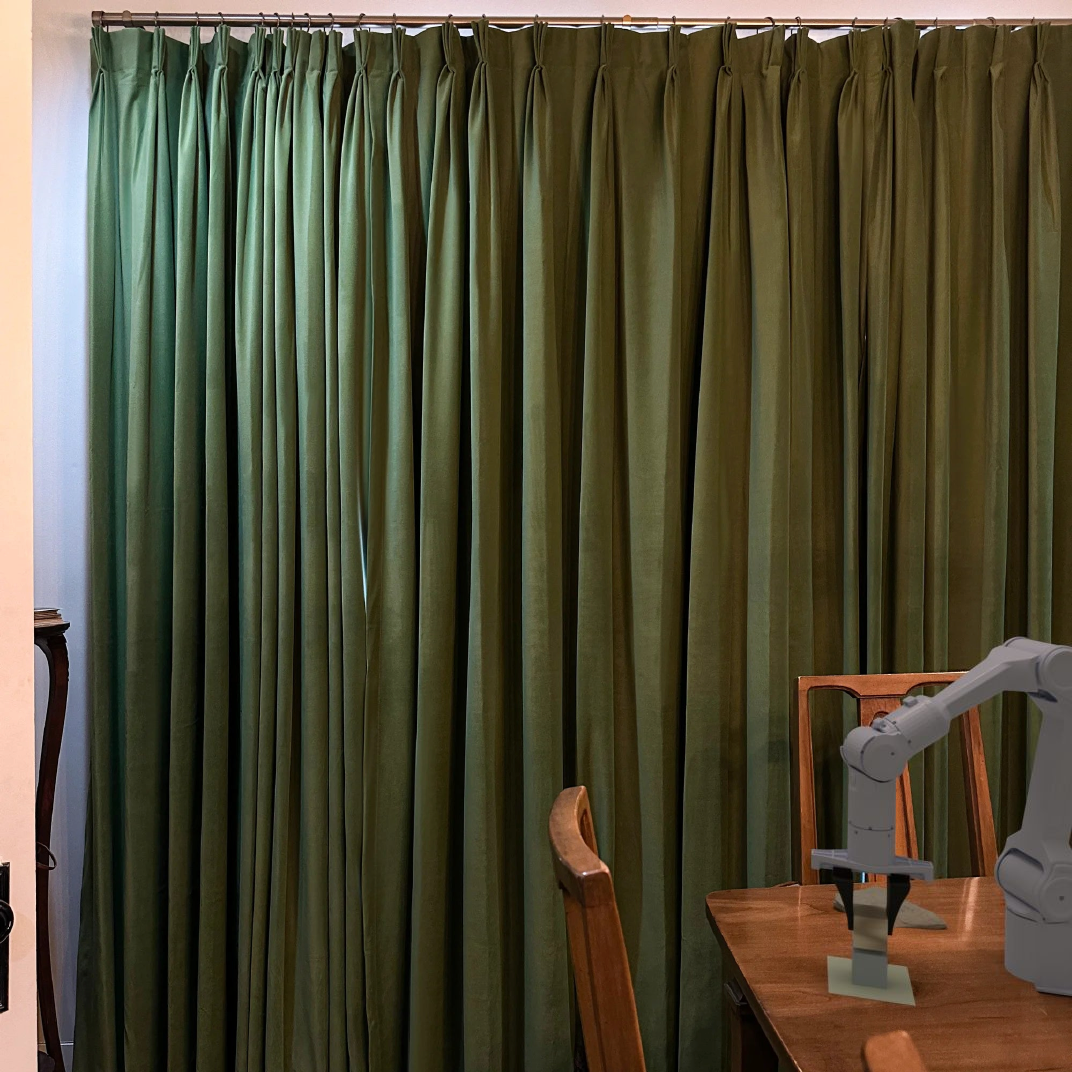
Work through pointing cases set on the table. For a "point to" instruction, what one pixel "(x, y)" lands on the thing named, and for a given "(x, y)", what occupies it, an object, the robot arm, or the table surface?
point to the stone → (907, 913)
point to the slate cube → (869, 967)
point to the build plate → (843, 985)
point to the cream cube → (870, 927)
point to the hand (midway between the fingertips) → (869, 929)
